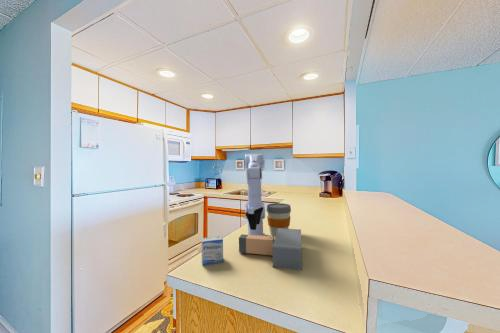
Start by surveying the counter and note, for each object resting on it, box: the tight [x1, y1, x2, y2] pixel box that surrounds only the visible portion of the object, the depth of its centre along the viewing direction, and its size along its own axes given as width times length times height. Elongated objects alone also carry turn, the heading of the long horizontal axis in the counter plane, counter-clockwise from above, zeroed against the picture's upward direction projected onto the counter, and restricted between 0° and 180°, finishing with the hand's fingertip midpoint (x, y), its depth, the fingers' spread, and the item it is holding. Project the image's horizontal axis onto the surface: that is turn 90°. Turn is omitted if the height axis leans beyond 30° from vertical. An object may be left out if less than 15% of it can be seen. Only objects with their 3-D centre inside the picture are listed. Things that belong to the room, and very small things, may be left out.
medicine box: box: [200, 235, 224, 266], centre depth 76 cm, size 8×4×9 cm, turn 105°
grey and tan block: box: [238, 233, 275, 256], centre depth 83 cm, size 4×14×6 cm, turn 76°
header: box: [272, 228, 303, 271], centre depth 80 cm, size 20×10×8 cm, turn 166°
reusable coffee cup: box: [266, 202, 292, 238], centre depth 104 cm, size 13×13×15 cm
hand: (255, 226), depth 86 cm, fingers open, 7 cm apart
